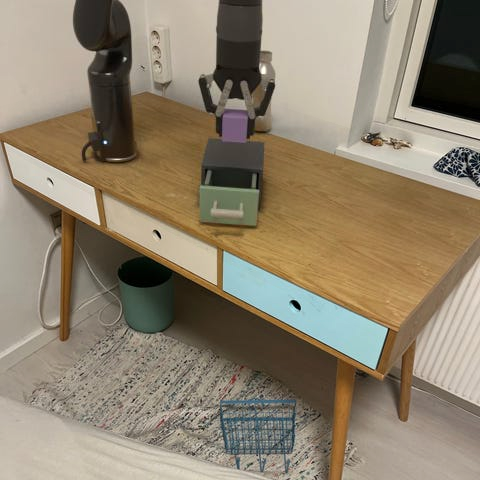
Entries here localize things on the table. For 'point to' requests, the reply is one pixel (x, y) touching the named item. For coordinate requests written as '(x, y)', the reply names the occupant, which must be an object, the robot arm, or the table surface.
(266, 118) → the plastic bottle
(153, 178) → the table surface
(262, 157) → the cabinet
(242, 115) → the block
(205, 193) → the drawer
